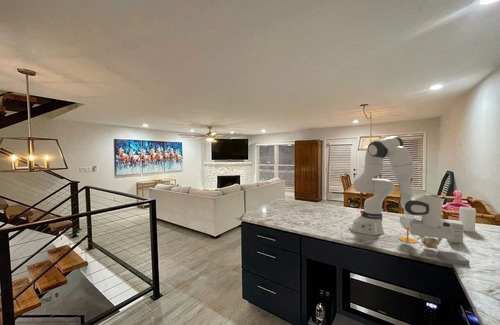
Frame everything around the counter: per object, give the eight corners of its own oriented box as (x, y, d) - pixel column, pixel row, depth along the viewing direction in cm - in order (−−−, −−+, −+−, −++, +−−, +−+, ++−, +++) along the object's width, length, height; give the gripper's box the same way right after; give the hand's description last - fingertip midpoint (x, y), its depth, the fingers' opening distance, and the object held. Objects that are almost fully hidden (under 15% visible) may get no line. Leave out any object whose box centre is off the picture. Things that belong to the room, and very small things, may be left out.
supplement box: (445, 237, 141) (446, 218, 140) (461, 240, 136) (461, 221, 135) (446, 241, 135) (447, 222, 134) (463, 244, 130) (463, 224, 129)
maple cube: (426, 247, 123) (426, 239, 122) (423, 243, 127) (423, 235, 127) (437, 248, 121) (437, 240, 120) (433, 244, 125) (433, 236, 125)
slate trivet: (448, 264, 109) (448, 259, 109) (437, 256, 118) (437, 250, 117) (469, 266, 107) (469, 260, 106) (456, 257, 115) (457, 252, 115)
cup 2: (462, 230, 150) (463, 209, 150) (456, 226, 158) (457, 206, 157) (477, 232, 148) (478, 210, 147) (470, 228, 155) (471, 206, 154)
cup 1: (399, 241, 136) (399, 217, 135) (398, 236, 144) (399, 213, 143) (417, 244, 131) (417, 219, 130) (415, 239, 139) (416, 215, 138)
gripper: (411, 220, 124) (410, 243, 125) (456, 224, 116) (454, 248, 117) (408, 217, 130) (407, 238, 131) (450, 220, 122) (449, 243, 123)
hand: (430, 243), depth 124 cm, fingers closed on maple cube, 5 cm apart
